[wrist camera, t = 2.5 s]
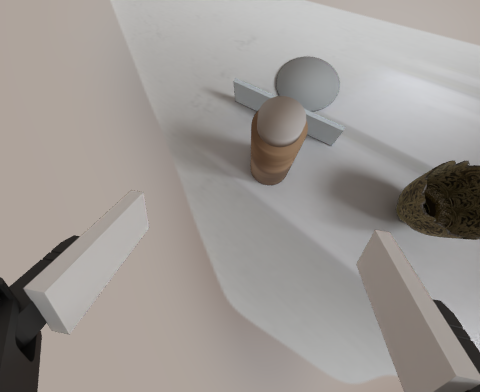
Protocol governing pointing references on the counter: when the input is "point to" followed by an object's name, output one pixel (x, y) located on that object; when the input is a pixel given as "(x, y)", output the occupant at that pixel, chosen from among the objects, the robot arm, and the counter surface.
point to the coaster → (309, 82)
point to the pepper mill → (276, 138)
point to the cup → (444, 202)
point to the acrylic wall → (316, 123)
